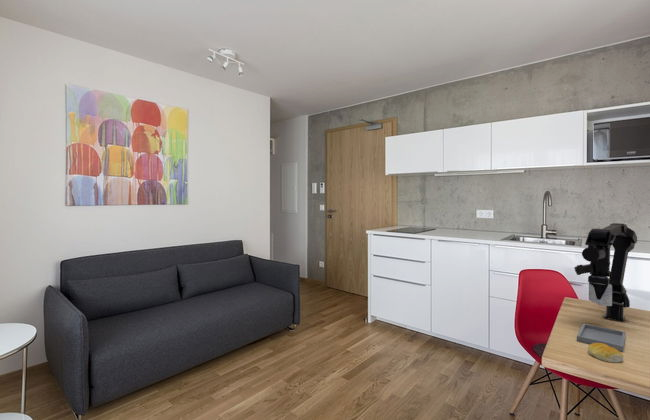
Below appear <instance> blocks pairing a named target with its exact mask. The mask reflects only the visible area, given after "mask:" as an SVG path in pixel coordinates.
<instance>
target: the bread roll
mask: <svg viewBox="0 0 650 420" xmlns="http://www.w3.org/2000/svg"><path fill="white" fill-rule="evenodd" d="M587 352H588V355H590V356H592V357H595V358H597V359H598V360H600V361H604V362H607V363H614V364H615V363H621V362H623V360H624V355H623V352H620V351H618V350H617V349H615V348H613V347H609V346H608V345H606V344H603V343H592V344H588V347H587Z"/></svg>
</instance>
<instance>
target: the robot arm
mask: <svg viewBox="0 0 650 420" xmlns="http://www.w3.org/2000/svg"><path fill="white" fill-rule="evenodd" d="M637 242H638V235H637V234H636V232H635V231H634V230H633V229H632V228H629V227H628V225H627V224H625V223H614V222H613V223H610V225H607V226H605V227H603V228H591V229H590V231H589V232H588V235H587V238H586V241H585V242H584V244H585V246H587V247H585V248H584V249H583V250H582V251H581V256H582V258H583V260H585V261H587V262H589V263H588V264H577V265H576V266H574V267H573V268H574V271H575V273H576V275H577V276H580V275H582V274H583V275H584V274H589V275H588V277H587V279H588V280H587V282H588V284H589V283H590V284H591V285H592V286H593V287H594V290H595V294H596V297H597V299H599V300H600V299H601V298H602V296H603V294H604V292H605V290H606V289H607V287H608V285H609V284H610V285H612V306H605V309H606V310H605V313H604V319H608V320H614V321H619V322H623V323H624V322H625V316H624V309H625V308H626V309H627V308H630V305H631V304H630V299H629V297H628V293H627V290H626V288H625V287H626V286H625V285H624V277H625V273H626V268H627V267H626V266H627V262H628V257H629V253H630V252H631V251H632V250H634V249H635V245H636V244H637ZM611 246H612V247H613V249H614V252H613V257H612V263H611V257H610V256H611ZM610 265H611V267H610Z"/></svg>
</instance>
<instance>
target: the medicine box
mask: <svg viewBox="0 0 650 420" xmlns="http://www.w3.org/2000/svg"><path fill="white" fill-rule="evenodd" d="M588 301H590V302H592V303H595V304H597V305H599V306H601V307H606V306H612V285H610V284H609V285H608V287H607V289H606V290H605V292H604V294H603V296H602V298H601V299H600V300H599V299H597V297H596V294H595V290H594V287H593V286H592V285H591V284H590V283H589V282H588Z"/></svg>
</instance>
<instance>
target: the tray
mask: <svg viewBox="0 0 650 420" xmlns="http://www.w3.org/2000/svg"><path fill="white" fill-rule="evenodd" d="M625 341H626V331H622V330H617V329H613V328H608V327H603V326H598V325H593V324H588V323H583V324H582V325H581V327H580V329H579V331H578V333H577V335H576V342H578V343H581V344H582V343H583V344H587V345H591V344H592V343H603V344H606V345H608V346H609V347H613V348H615V349H617V350H618V351H619V352H621V353H624V348H625Z"/></svg>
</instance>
